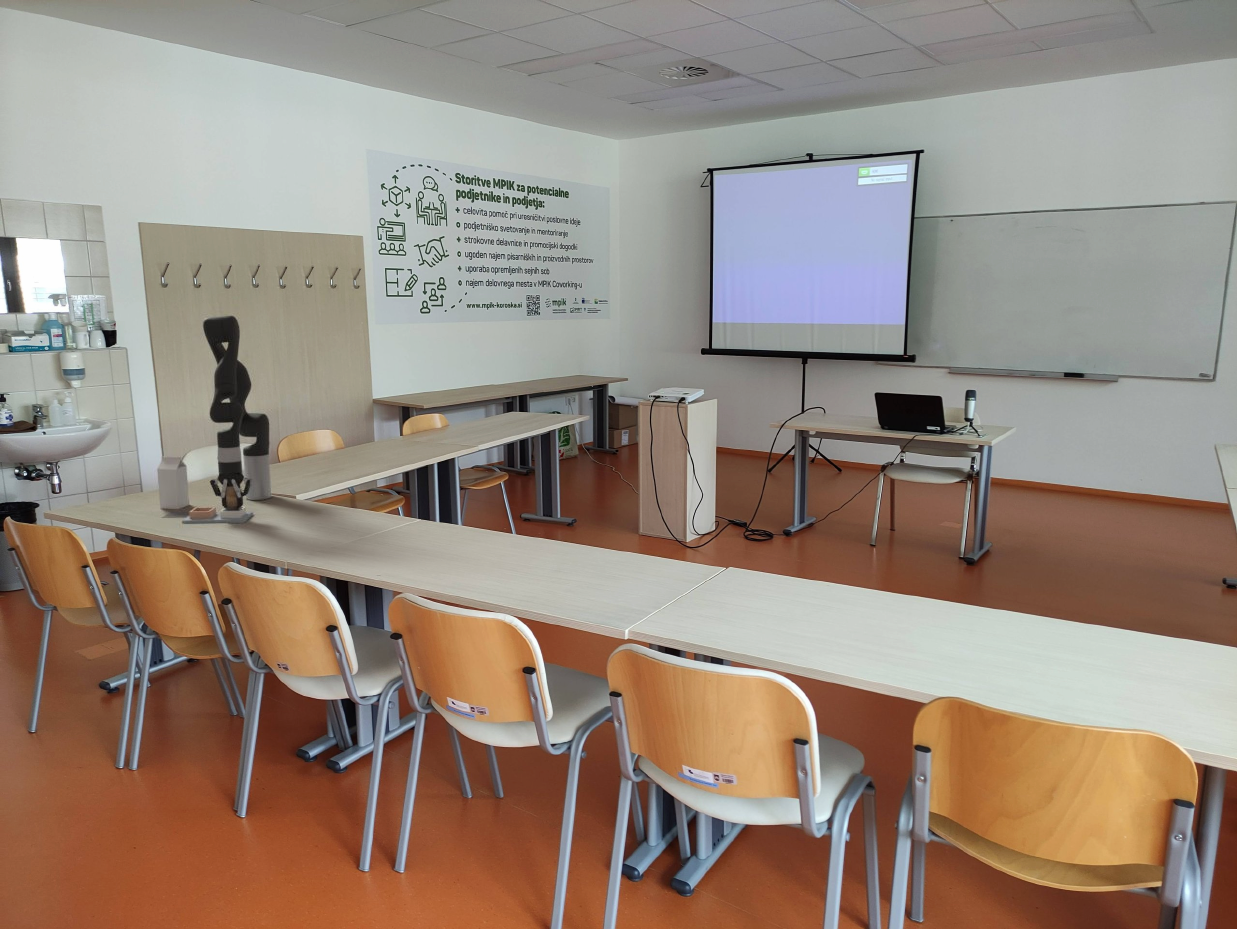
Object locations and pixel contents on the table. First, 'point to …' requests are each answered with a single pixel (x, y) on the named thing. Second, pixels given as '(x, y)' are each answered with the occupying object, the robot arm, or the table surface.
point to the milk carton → (172, 483)
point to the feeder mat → (177, 514)
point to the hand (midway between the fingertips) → (232, 507)
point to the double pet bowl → (217, 515)
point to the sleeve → (231, 499)
